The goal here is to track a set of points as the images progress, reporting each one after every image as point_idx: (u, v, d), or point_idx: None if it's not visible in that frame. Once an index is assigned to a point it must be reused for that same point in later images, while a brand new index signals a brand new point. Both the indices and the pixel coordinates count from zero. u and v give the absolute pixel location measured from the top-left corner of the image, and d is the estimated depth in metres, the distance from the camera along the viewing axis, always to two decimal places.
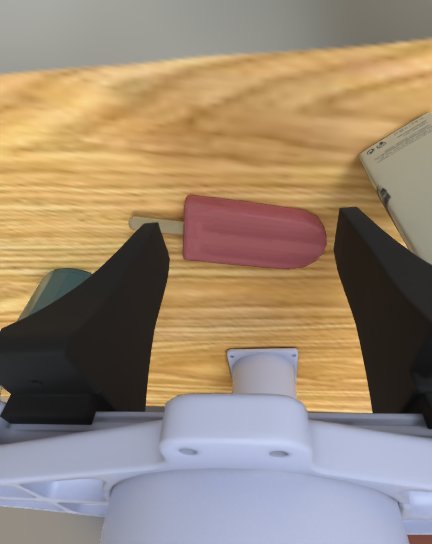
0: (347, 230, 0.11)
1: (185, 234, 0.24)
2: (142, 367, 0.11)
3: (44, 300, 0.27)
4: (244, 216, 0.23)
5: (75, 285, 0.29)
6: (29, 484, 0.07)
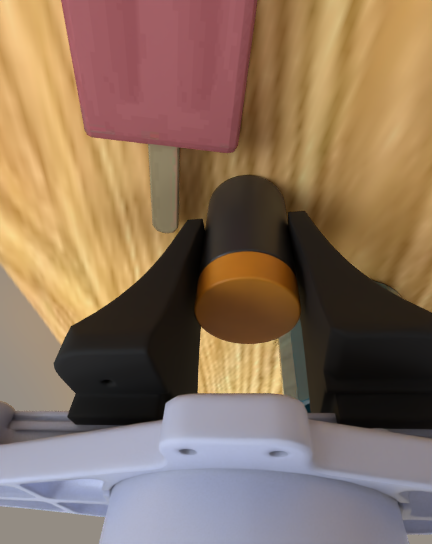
0: (292, 233, 0.12)
1: (159, 142, 0.11)
2: (194, 366, 0.11)
3: None
4: None
5: None
6: (29, 484, 0.07)
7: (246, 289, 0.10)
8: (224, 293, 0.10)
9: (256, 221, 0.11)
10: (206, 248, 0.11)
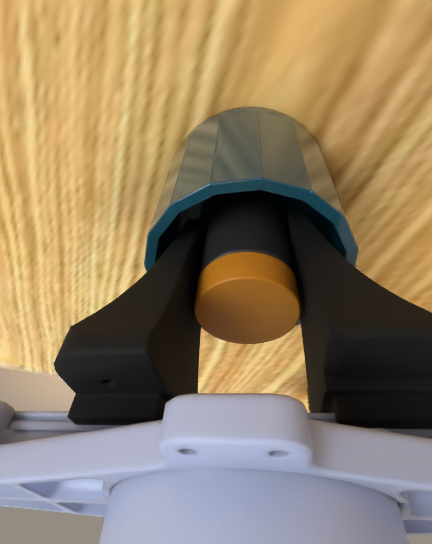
0: (291, 233, 0.12)
1: None
2: (194, 366, 0.11)
3: None
4: None
5: (181, 154, 0.13)
6: (29, 484, 0.07)
7: (246, 289, 0.10)
8: (224, 293, 0.10)
9: (256, 221, 0.11)
10: (205, 248, 0.12)
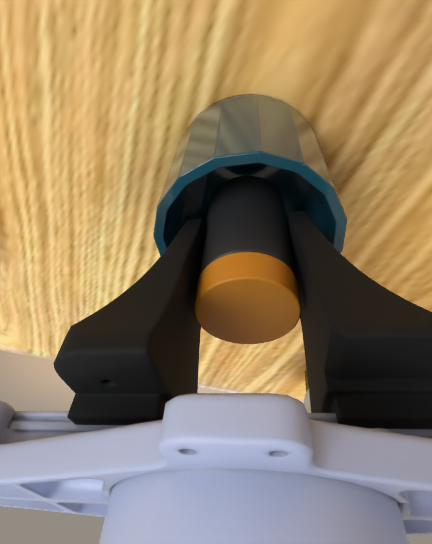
0: (292, 233, 0.12)
1: None
2: (194, 366, 0.11)
3: None
4: None
5: (186, 137, 0.14)
6: (29, 484, 0.07)
7: (246, 289, 0.10)
8: (224, 293, 0.10)
9: (256, 221, 0.11)
10: (206, 249, 0.12)
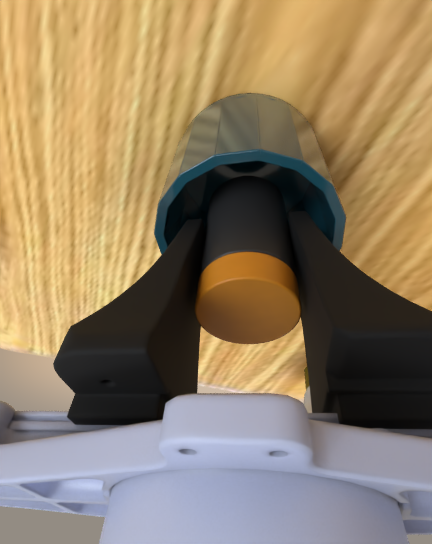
0: (293, 233, 0.12)
1: None
2: (194, 366, 0.11)
3: None
4: None
5: (187, 136, 0.14)
6: (29, 484, 0.07)
7: (246, 289, 0.10)
8: (224, 293, 0.10)
9: (257, 221, 0.11)
10: (206, 249, 0.12)
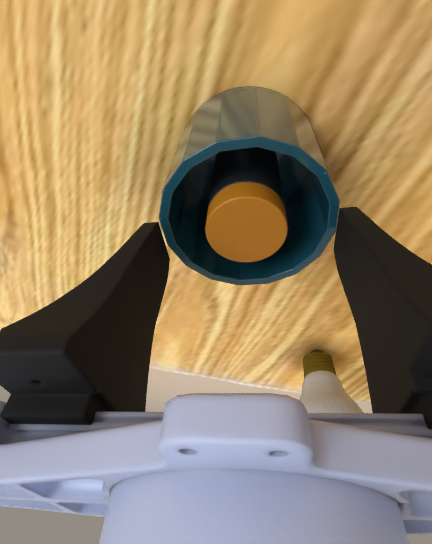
0: (347, 230, 0.11)
1: None
2: (142, 367, 0.11)
3: None
4: None
5: (189, 126, 0.15)
6: (29, 484, 0.07)
7: (245, 208, 0.13)
8: (228, 211, 0.13)
9: (253, 163, 0.14)
10: (213, 186, 0.15)
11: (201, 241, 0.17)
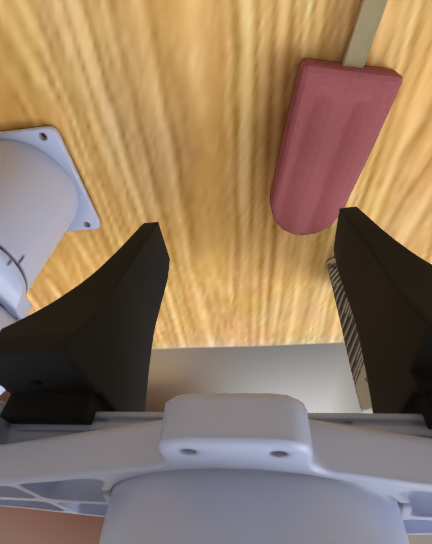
0: (347, 230, 0.11)
1: (354, 74, 0.17)
2: (142, 367, 0.11)
3: None
4: (364, 156, 0.20)
5: None
6: (29, 484, 0.07)
7: None
8: None
9: None
10: None
11: None
